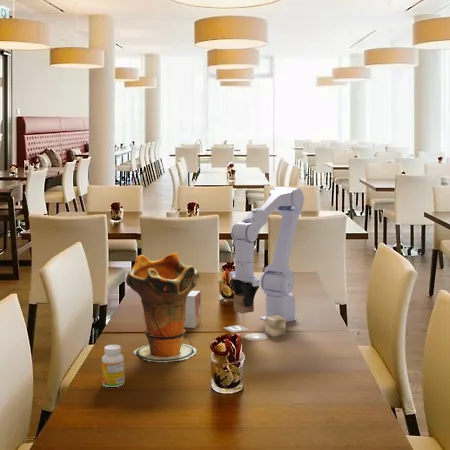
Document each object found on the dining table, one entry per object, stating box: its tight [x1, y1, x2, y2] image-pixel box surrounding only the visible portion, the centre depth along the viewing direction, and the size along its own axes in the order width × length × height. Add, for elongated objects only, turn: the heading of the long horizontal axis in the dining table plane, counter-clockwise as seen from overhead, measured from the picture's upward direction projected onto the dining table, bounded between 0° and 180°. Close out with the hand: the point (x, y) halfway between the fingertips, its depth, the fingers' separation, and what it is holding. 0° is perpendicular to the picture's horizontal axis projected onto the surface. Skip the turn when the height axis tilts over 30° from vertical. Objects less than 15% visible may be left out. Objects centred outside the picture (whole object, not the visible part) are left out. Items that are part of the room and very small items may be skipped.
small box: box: [184, 290, 202, 329], centre depth 224 cm, size 8×6×10 cm
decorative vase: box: [125, 251, 201, 363], centre depth 195 cm, size 21×23×28 cm
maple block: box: [264, 315, 287, 338], centre depth 214 cm, size 4×4×5 cm
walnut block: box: [233, 293, 255, 314], centre depth 214 cm, size 4×4×5 cm
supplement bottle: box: [101, 344, 125, 388], centre depth 172 cm, size 5×5×10 cm
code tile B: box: [262, 331, 289, 339], centre depth 214 cm, size 6×6×1 cm
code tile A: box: [223, 324, 250, 333], centre depth 220 cm, size 6×6×1 cm
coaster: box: [244, 332, 269, 342], centre depth 210 cm, size 7×7×1 cm
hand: (244, 304), depth 214 cm, fingers closed on walnut block, 4 cm apart
